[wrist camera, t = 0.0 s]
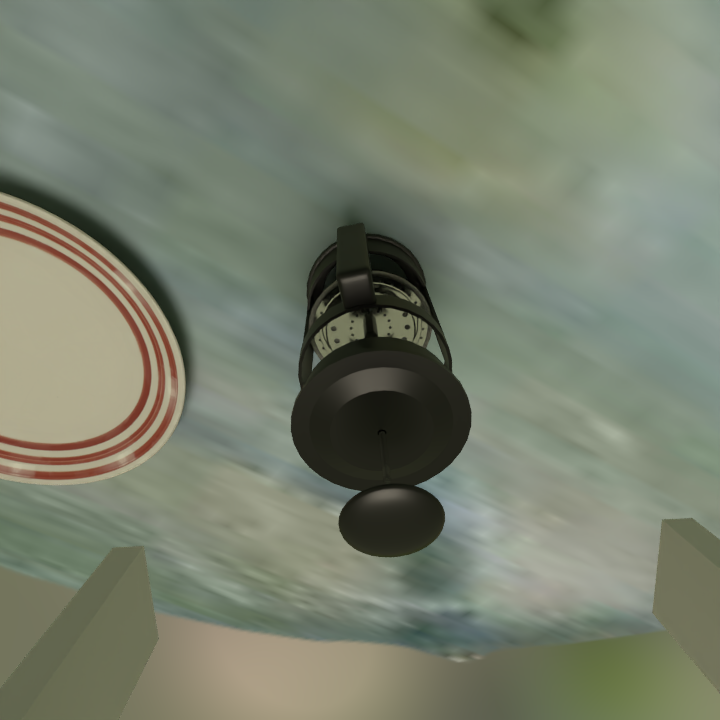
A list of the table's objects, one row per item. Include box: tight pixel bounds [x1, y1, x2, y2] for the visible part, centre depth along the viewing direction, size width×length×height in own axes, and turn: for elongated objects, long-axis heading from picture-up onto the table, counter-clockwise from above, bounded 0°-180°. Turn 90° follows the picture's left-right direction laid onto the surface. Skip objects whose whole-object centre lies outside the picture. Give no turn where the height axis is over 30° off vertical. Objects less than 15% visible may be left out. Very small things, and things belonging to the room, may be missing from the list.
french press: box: [291, 223, 471, 557], centre depth 28 cm, size 12×9×23 cm
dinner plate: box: [0, 192, 186, 485], centre depth 38 cm, size 27×27×3 cm
